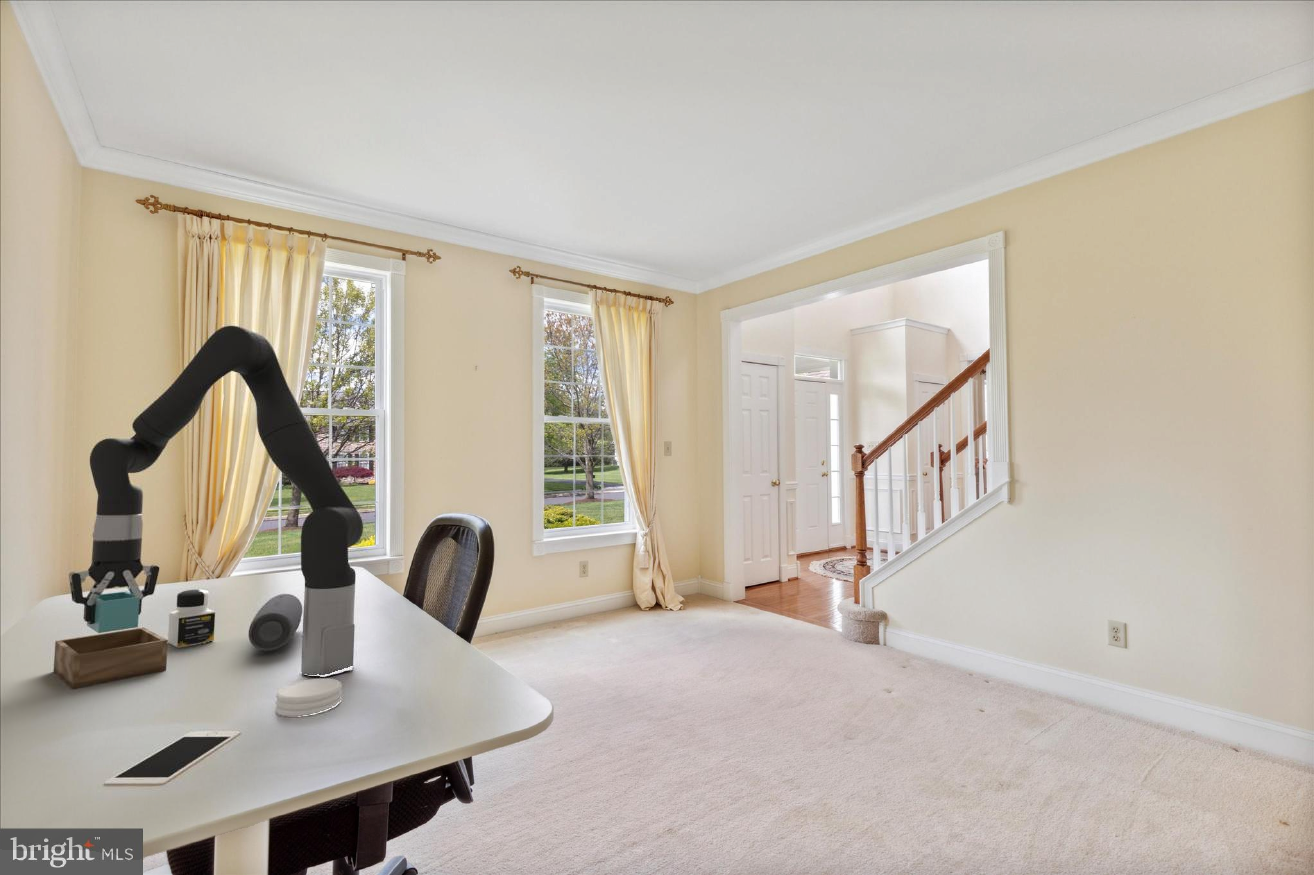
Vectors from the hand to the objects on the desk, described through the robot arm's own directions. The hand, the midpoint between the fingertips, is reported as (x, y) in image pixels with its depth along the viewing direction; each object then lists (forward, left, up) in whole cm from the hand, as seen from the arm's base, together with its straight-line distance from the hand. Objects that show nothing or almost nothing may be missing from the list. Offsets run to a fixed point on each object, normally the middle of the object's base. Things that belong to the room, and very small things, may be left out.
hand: (112, 620), depth 125 cm
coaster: (-50, -16, -10) cm, 54 cm away
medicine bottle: (+12, -17, -10) cm, 23 cm away
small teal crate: (0, 0, -1) cm, 1 cm away
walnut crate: (0, 0, -10) cm, 10 cm away
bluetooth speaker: (-4, -29, -10) cm, 31 cm away
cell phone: (-55, +4, -11) cm, 56 cm away
